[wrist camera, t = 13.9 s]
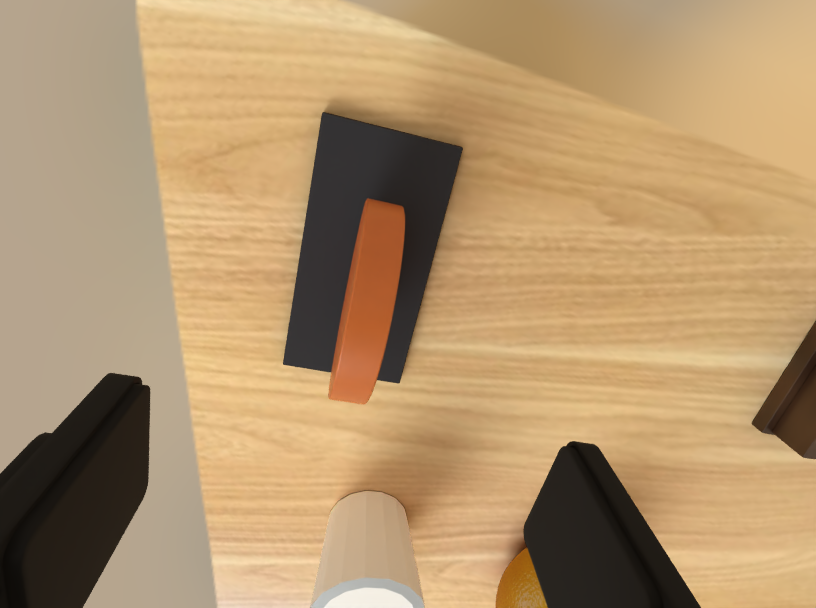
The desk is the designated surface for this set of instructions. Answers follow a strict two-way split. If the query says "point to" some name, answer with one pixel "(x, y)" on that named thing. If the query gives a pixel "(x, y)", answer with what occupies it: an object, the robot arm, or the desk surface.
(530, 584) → the fruit
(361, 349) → the disc
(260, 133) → the desk surface
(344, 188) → the mat
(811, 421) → the rack
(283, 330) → the desk surface
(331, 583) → the shot glass
